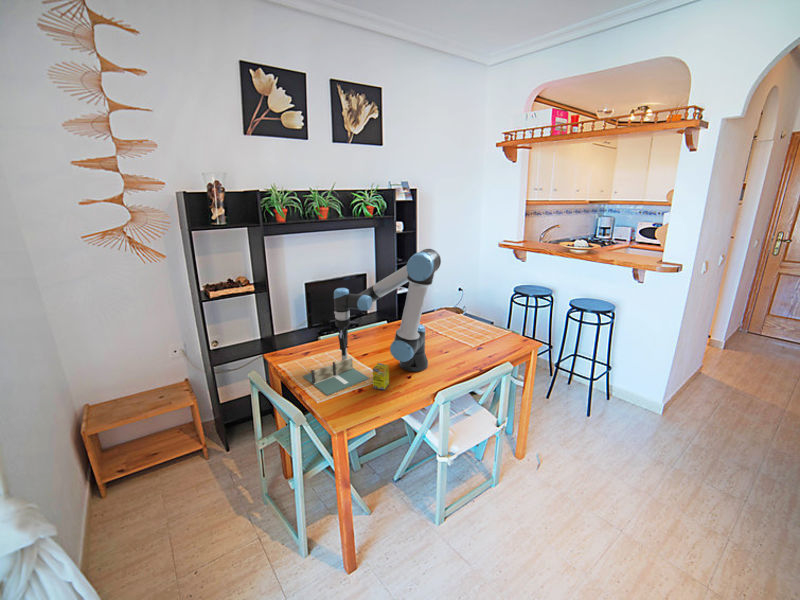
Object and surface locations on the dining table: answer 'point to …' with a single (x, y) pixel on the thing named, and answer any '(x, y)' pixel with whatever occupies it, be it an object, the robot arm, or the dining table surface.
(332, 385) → the board
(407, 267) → the robot arm
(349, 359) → the hinged gate
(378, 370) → the supplement box
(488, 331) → the dining table surface
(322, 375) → the fixed rail
